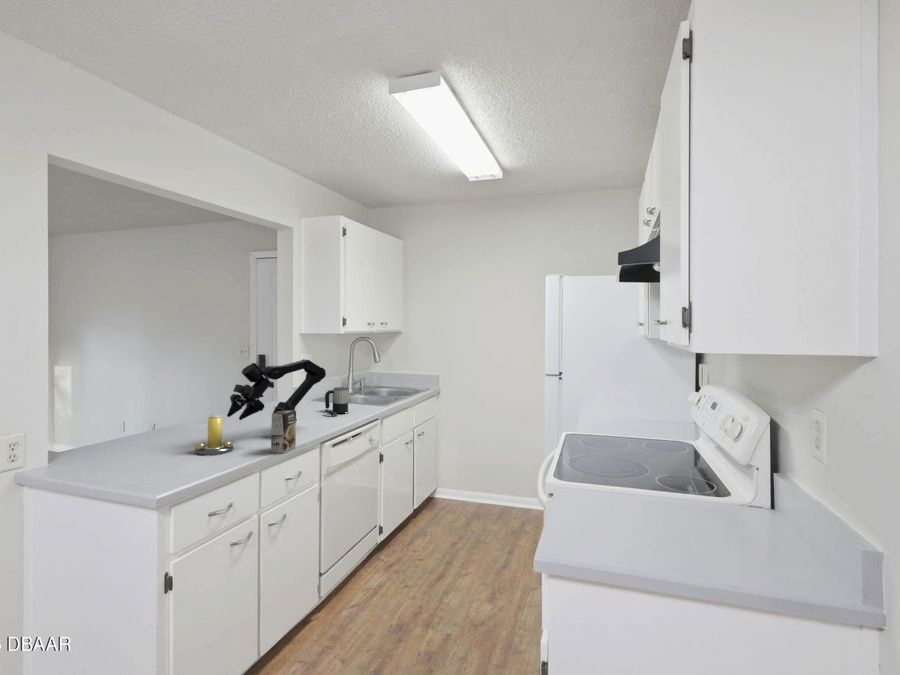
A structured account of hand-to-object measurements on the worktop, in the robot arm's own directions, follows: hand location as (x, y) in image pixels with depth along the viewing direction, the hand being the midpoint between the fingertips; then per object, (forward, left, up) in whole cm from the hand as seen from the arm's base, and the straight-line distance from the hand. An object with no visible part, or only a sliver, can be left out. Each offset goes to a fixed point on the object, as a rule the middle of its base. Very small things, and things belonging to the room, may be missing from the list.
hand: (233, 417), depth 201 cm
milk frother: (-10, -80, -13) cm, 81 cm away
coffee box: (-23, -1, -13) cm, 26 cm away
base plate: (+3, +7, -12) cm, 15 cm away
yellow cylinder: (+3, +7, -11) cm, 13 cm away
